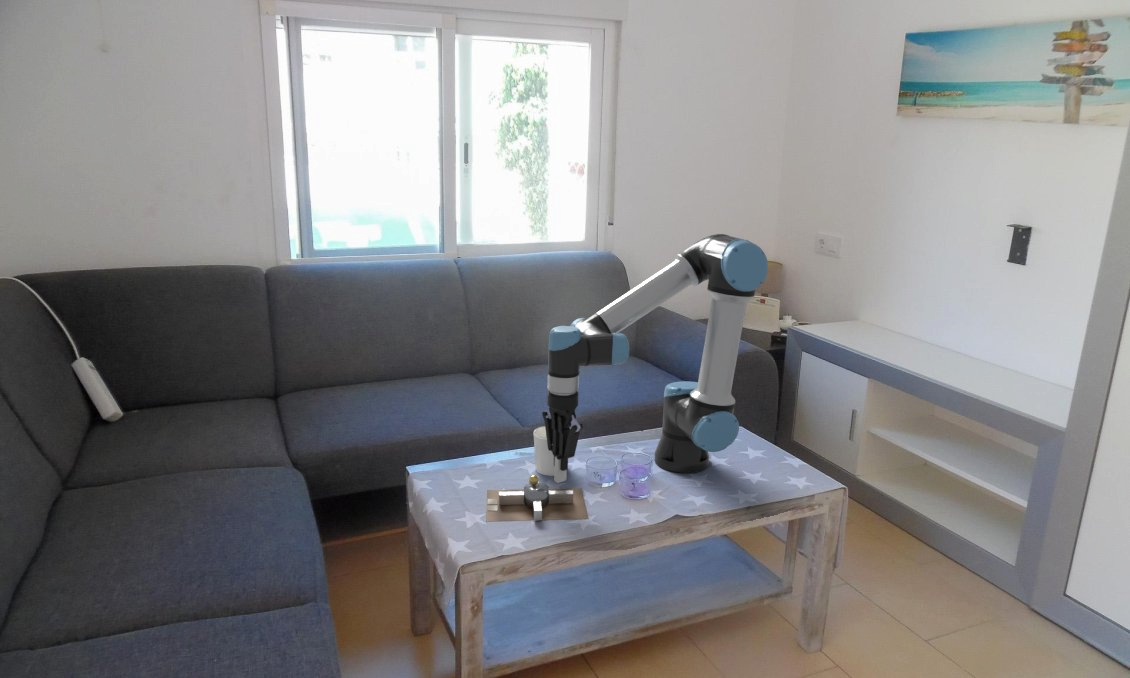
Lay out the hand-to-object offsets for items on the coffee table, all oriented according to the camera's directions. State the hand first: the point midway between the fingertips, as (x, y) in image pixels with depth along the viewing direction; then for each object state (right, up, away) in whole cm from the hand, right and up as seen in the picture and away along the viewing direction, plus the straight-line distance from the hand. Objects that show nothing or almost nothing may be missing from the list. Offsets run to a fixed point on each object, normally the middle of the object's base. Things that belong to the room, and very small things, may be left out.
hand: (560, 480), depth 193 cm
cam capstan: (-6, -5, -4) cm, 9 cm away
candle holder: (-3, -1, +16) cm, 17 cm away
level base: (-6, -7, -3) cm, 9 cm away
